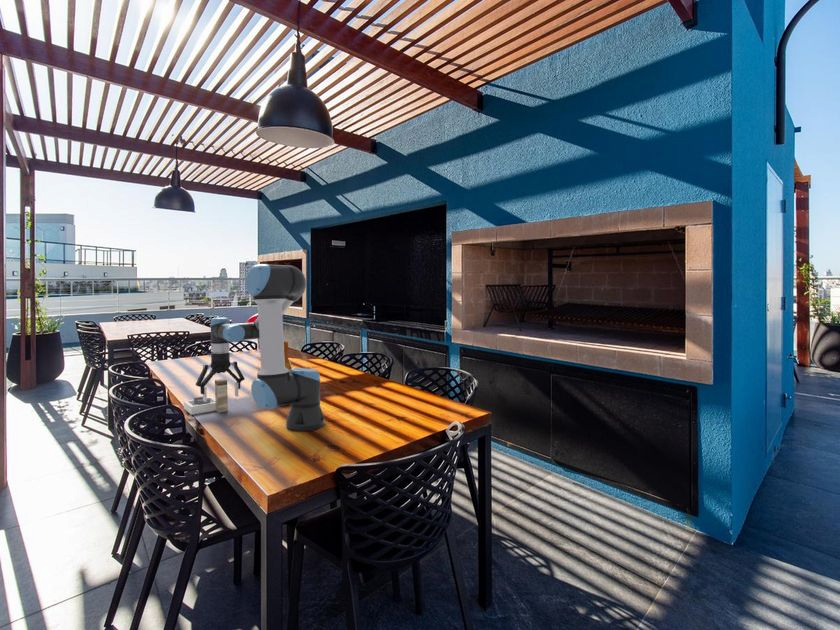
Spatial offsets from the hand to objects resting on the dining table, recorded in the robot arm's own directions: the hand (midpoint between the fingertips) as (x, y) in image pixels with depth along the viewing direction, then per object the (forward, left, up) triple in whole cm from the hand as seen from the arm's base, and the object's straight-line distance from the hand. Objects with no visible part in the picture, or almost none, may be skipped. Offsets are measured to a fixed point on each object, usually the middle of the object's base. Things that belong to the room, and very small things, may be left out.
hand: (221, 398), depth 192 cm
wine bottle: (-7, -27, -6) cm, 29 cm away
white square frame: (+8, +6, -5) cm, 11 cm away
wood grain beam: (0, 0, -5) cm, 5 cm away
